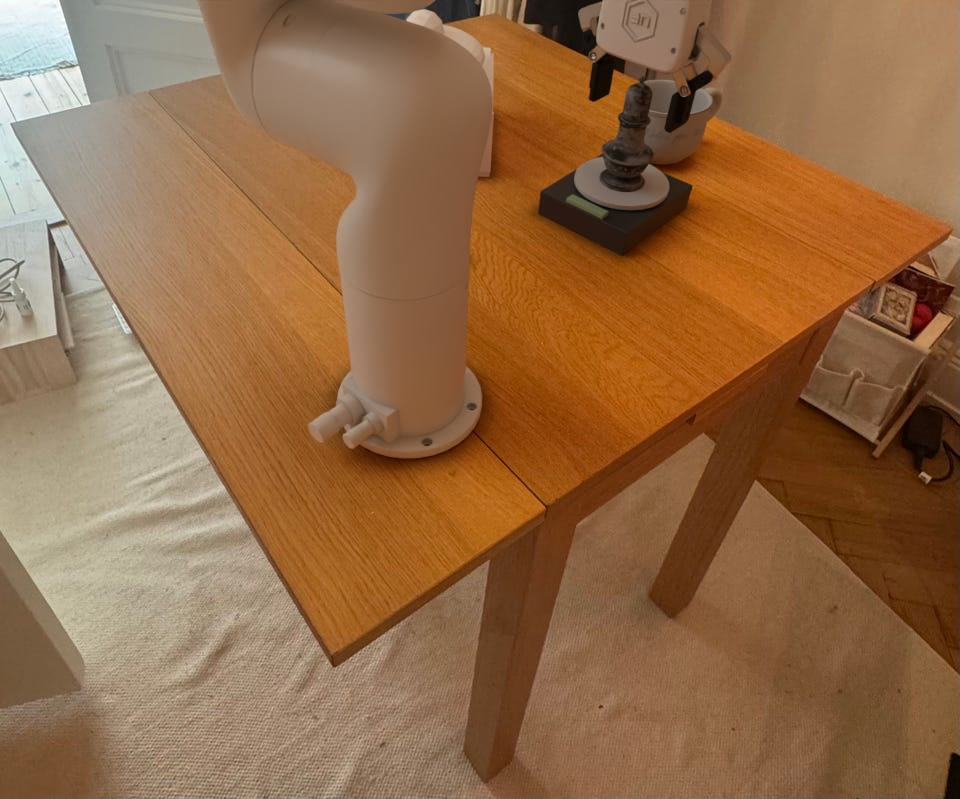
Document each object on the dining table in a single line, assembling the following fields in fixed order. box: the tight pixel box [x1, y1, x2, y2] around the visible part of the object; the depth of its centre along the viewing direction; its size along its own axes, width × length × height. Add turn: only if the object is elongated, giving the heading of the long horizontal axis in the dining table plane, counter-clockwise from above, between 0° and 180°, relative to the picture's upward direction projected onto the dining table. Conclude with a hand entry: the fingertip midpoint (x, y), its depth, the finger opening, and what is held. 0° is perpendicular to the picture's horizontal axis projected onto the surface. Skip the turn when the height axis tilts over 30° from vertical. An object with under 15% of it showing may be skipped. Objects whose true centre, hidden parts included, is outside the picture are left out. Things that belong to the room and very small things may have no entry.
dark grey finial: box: [599, 75, 654, 192], centre depth 81 cm, size 6×6×12 cm
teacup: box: [625, 79, 723, 165], centre depth 95 cm, size 14×11×8 cm
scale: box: [537, 153, 694, 257], centre depth 86 cm, size 14×12×4 cm
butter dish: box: [405, 8, 495, 178], centre depth 92 cm, size 18×18×16 cm
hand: (635, 112), depth 79 cm, fingers open, 9 cm apart
